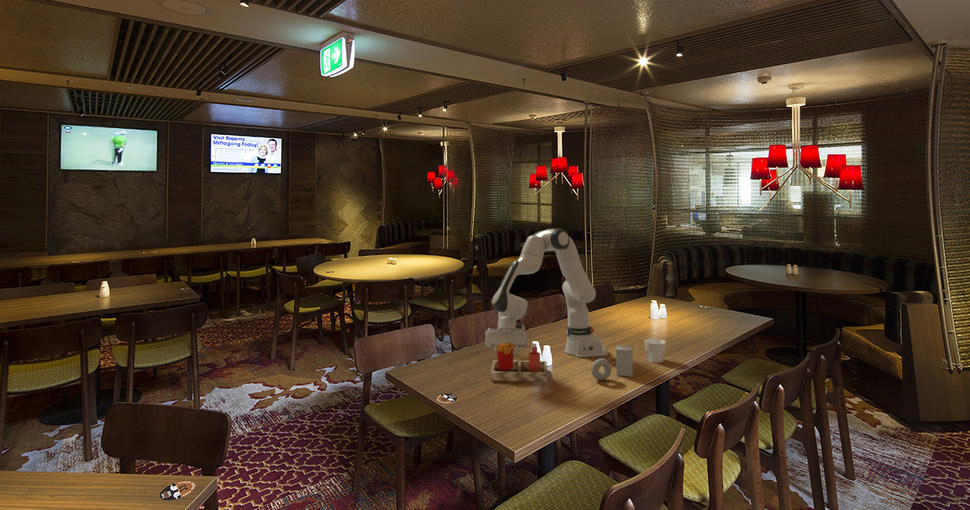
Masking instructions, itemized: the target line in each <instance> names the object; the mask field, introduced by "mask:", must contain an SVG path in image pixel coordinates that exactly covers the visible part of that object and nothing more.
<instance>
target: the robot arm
mask: <svg viewBox="0 0 970 510" xmlns="http://www.w3.org/2000/svg"><path fill="white" fill-rule="evenodd" d="M552 251H554V252H555V254H556V258H557V262H558V265H559V267H560V271H561V273H562V275H563V277H564V278H565V281H564V282H563V284H562V286H561V288H562V291H563V294H564V298H565V303H566V309H567V326H566V337H567V338H566V342H565V343H566V345H565V348H564V353H566V354H568V355H571V356H575V357H578V358H587V357H588V358H590V357H606V356H608V354H609V353H608V350H607V348H605V347H604V343H603V341H602V340H601V338H599V337H598V335H596V334H594V332H595V328H593V327H592V326H591V325H590V321H589V320H590V312H589V310H588V307H587V304H589V303H591V302H593V301H594V300H595V298H596V295H597V291H596V289H595V287H594V286H593V284H592V283H591V281H590V279H589V277H588V275H587V273H586V272H585V269H584V267H583V265H582V261H581V259H580V255H579V253H578V249H577V247H576V244H575V242H574V240H573V239H572V238H571V237H570V236H569V234H568V232H567V230H565V229H563V228H547V229H545V230H539V231H537V232H535V233H534V234H532V235H529V236H527V238H526V241H525V242H524V244H523V247H522V249H521V252H520V256H519V257H518V259H517V260H514V261H513V262H512V263H511V264H510V265H509V267H508V269H507V271H506V272H505V274H504V277H503V278H502V280H501V282H500V284H499V287H498V289H497V290H496V292H495V293H494V295H493V297H492V299H491V305H492V307H493V309H494V311H496V312H498V314H497V317H498V320H497V328H488V329H486V330H485V332H484V336H485V338H484V345H485V347H487V348H493V350H494V351H495V356H497V351H498V347H497V345H499V344H504V343H508V342H510V343H512V344H514V351H513V357H514V356H515V357H516V356H517V352H518V351H519V349H526V348H527V347H528V336H527V335H528V334H527V333H526V332H527V331H526V329H525V325H523V324H519V323H517V320H518V321H519V320H522V319H523V318H525V317H527V315H528V314H529V310H530V309H529V308H530V307H529V306H530V305H529V302H528V300H527V299H525V298H522V297H521V296H516V295H514V294H512V293H510V289H511V287H512V285H513V283H514V281H515V279H516V278H517V276H519V275H530V274H531V275H533V274H535V273H536V272H538V271H539V270H540V268H541V266H542V263H543V259H544V254H545V252H552Z"/></svg>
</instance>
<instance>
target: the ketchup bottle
mask: <svg viewBox="0 0 970 510" xmlns="http://www.w3.org/2000/svg"><path fill="white" fill-rule="evenodd" d="M528 361H529V370H528V372H541V370H540V361H541V353H540V352H539V351H538V346H537V343H532V346H531V352H529V353H528Z"/></svg>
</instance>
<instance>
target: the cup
mask: <svg viewBox="0 0 970 510" xmlns="http://www.w3.org/2000/svg"><path fill="white" fill-rule="evenodd" d="M666 343H667V342H666V341H665V340H664V339H662V338H661V339H660V338H654V337H653V338H652V337H651V338H646V339H644V346H645V359H646V360H645V361H647V362H650V363H655V364H659V363H663V362H664V356H665V349H666Z"/></svg>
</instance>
